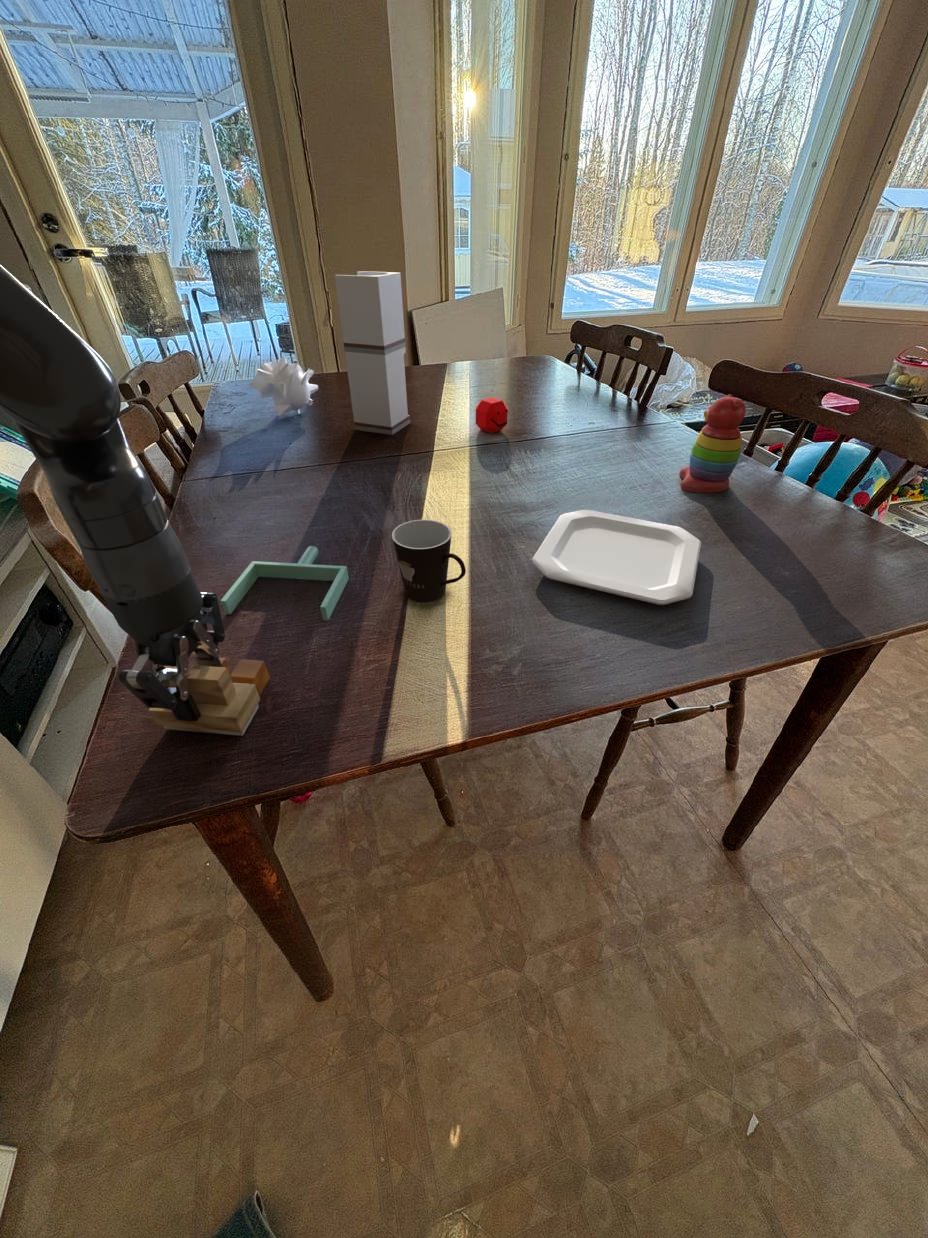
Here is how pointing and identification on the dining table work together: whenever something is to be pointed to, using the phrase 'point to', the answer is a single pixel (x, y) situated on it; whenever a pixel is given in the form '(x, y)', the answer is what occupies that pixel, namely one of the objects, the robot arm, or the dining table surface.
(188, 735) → the dining table surface
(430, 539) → the coffee mug
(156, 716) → the stepped wooden block
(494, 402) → the ball
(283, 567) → the green u-shaped pusher
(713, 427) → the stacking bear
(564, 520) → the plate
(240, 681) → the crumb
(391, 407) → the white banded pillar
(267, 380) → the white spiky ornament
